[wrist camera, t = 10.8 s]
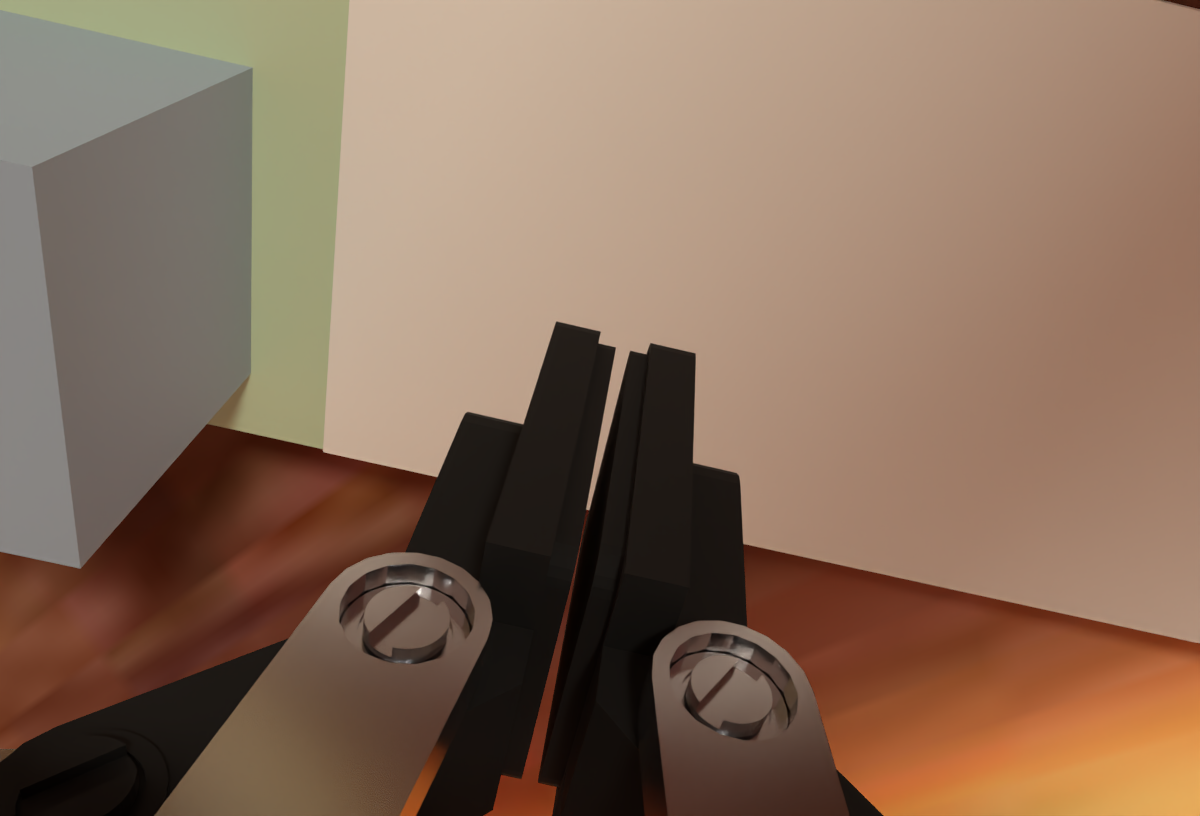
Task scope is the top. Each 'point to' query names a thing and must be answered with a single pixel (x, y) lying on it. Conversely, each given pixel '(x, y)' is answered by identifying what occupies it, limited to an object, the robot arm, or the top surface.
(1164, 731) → the top surface
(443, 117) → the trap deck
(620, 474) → the robot arm
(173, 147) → the block
